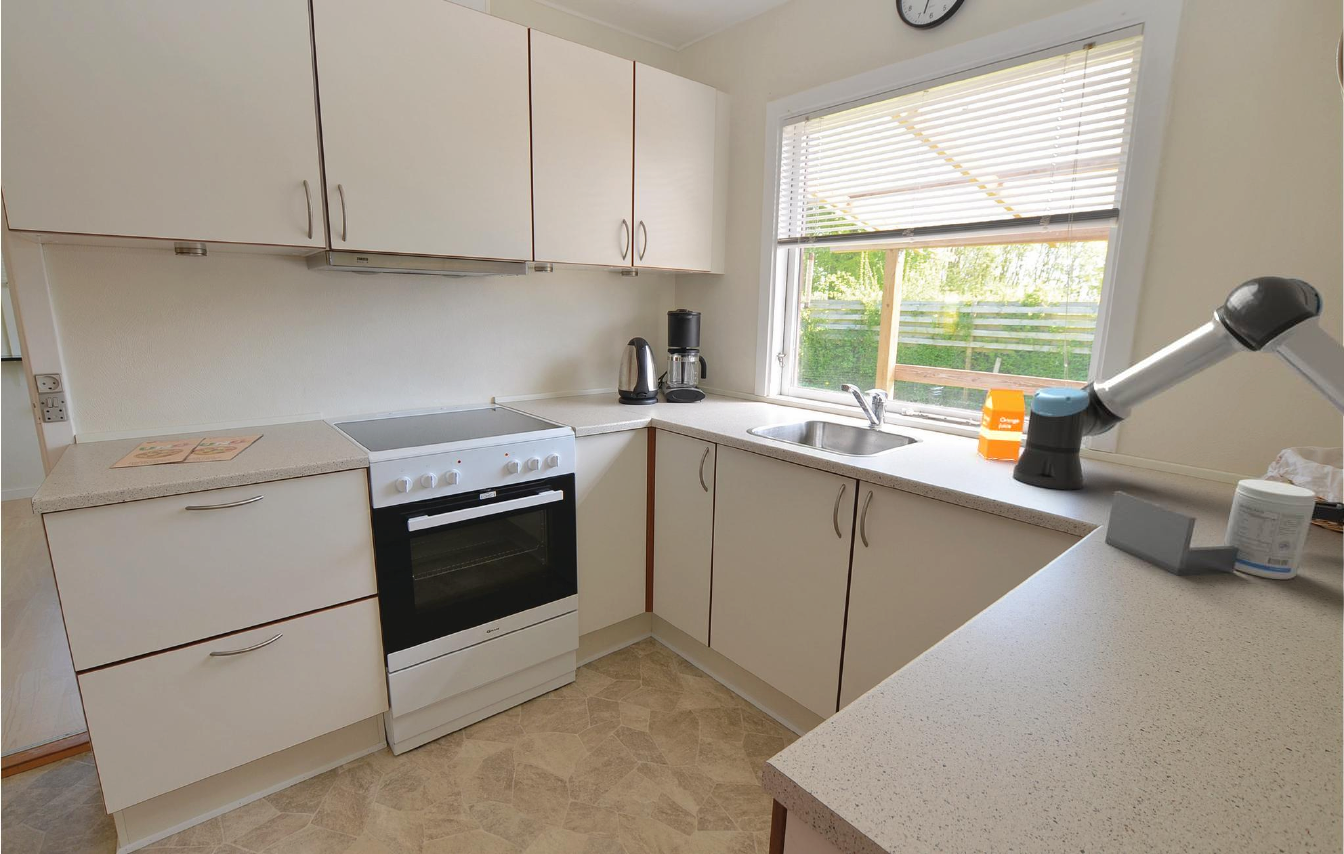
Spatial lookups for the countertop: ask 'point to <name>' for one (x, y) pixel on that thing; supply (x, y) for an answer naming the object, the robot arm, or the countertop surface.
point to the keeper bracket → (1163, 538)
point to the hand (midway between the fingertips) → (1307, 524)
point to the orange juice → (1002, 424)
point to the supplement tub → (1269, 527)
